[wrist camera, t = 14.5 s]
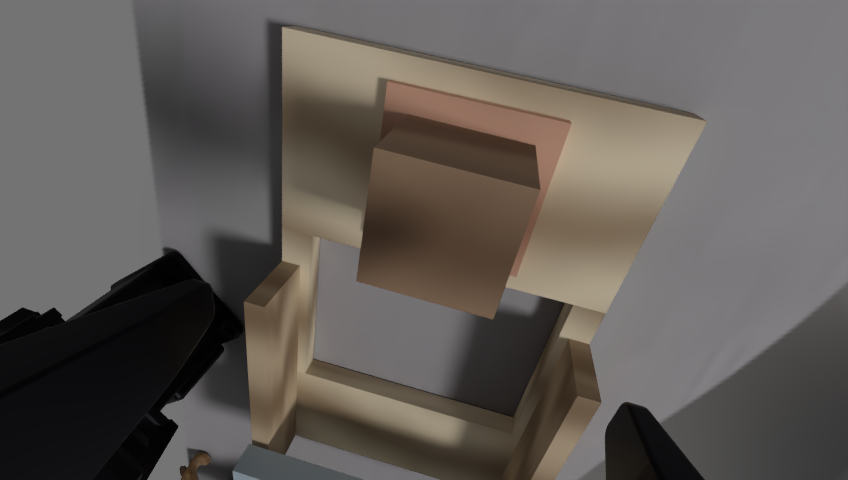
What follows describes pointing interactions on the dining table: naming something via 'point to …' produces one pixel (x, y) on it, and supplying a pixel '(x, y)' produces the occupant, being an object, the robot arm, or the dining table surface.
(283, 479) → the sliding slat
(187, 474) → the lion figurine
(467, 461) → the puzzle board
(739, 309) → the dining table surface
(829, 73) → the dining table surface
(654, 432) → the robot arm
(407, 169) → the walnut block
